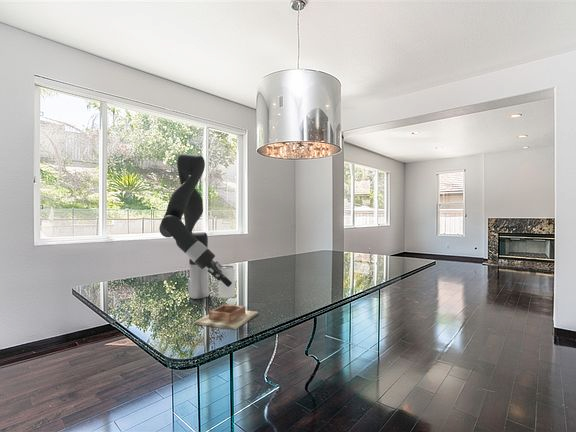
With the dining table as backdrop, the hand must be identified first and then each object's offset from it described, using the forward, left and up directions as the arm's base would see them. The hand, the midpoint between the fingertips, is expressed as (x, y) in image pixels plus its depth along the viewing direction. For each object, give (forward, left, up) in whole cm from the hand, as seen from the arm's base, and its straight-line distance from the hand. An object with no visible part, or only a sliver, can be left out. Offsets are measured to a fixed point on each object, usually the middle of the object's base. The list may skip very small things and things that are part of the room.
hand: (230, 283), depth 123 cm
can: (-1, -1, -6) cm, 6 cm away
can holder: (-1, -1, -14) cm, 14 cm away
